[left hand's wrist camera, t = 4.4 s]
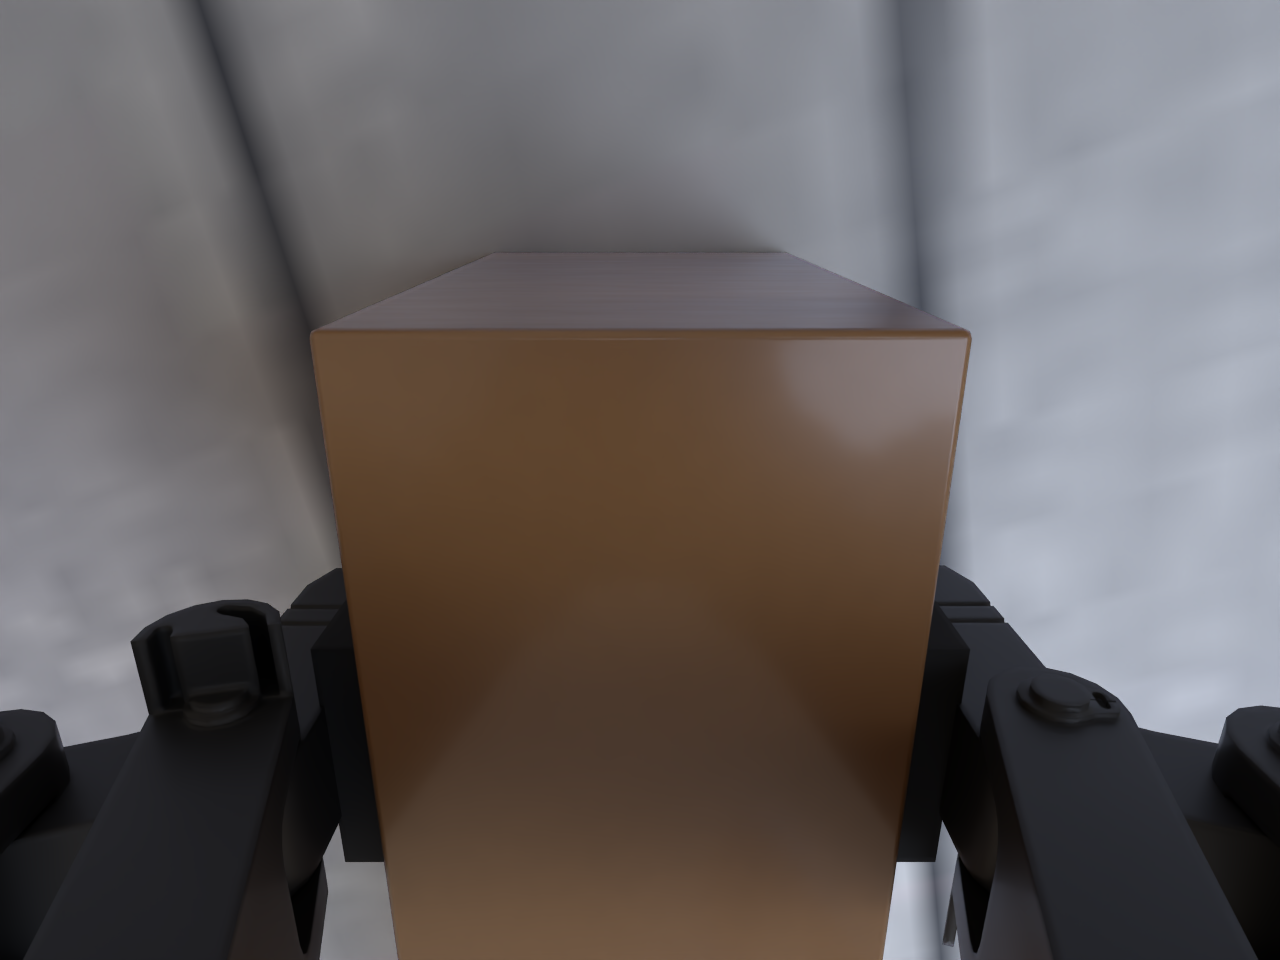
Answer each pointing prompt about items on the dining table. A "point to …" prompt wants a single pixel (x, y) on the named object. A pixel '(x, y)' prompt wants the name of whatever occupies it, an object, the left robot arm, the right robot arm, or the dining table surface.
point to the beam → (640, 597)
